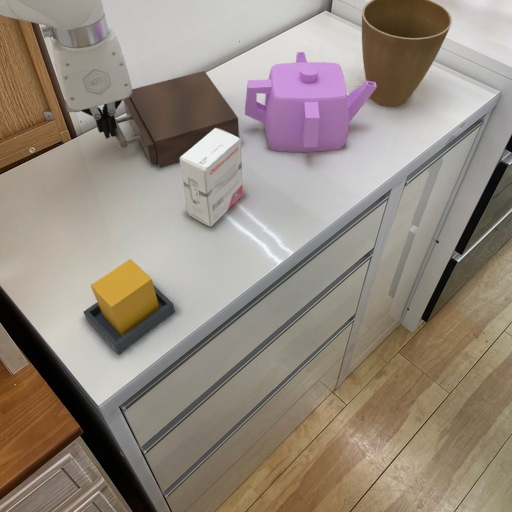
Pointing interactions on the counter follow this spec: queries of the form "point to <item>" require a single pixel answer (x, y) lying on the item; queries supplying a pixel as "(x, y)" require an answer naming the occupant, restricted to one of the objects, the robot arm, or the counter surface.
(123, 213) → the counter surface
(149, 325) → the dark grey tray
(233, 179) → the ink box
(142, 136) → the drawer
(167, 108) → the cabinet
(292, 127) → the teakettle
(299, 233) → the counter surface
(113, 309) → the box
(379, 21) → the plant pot
